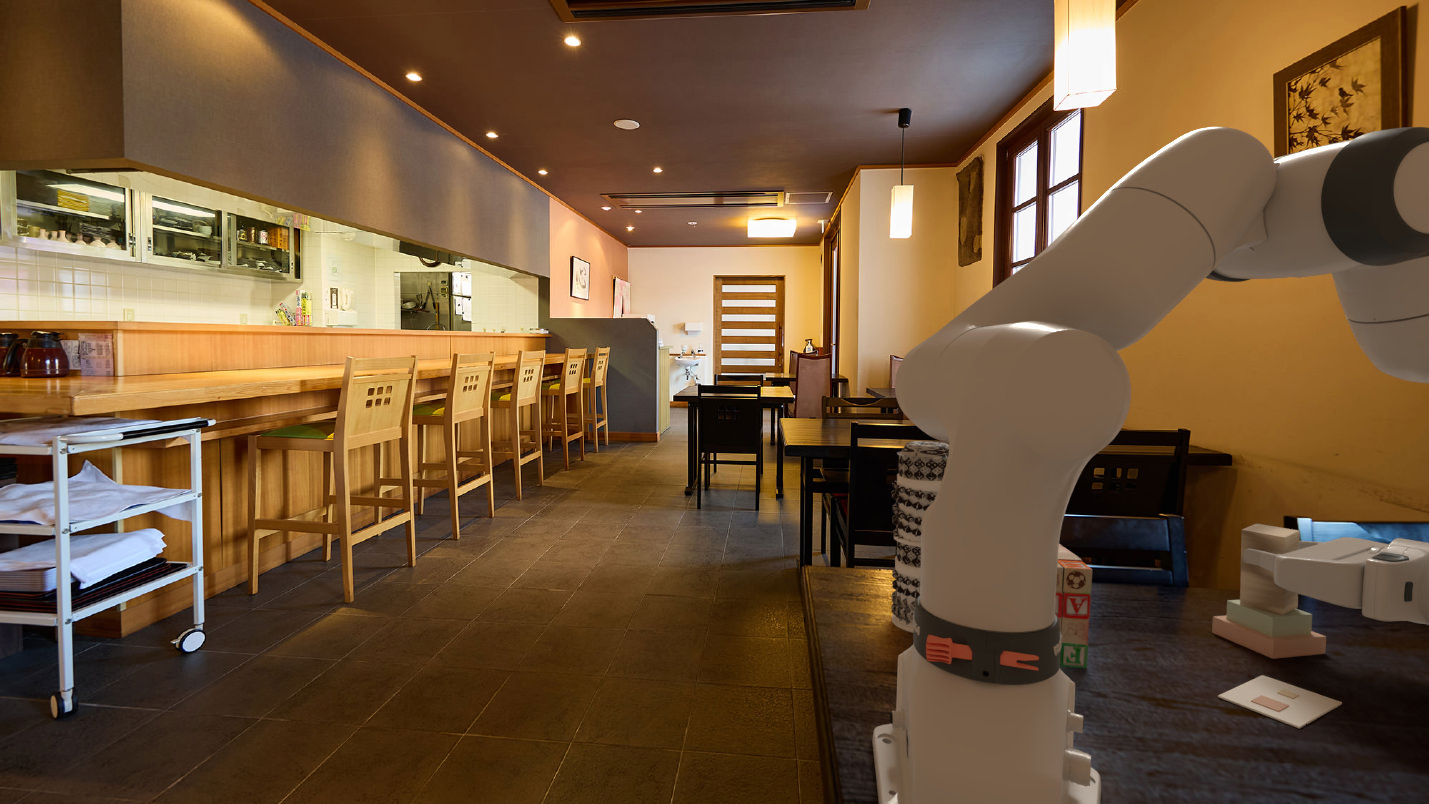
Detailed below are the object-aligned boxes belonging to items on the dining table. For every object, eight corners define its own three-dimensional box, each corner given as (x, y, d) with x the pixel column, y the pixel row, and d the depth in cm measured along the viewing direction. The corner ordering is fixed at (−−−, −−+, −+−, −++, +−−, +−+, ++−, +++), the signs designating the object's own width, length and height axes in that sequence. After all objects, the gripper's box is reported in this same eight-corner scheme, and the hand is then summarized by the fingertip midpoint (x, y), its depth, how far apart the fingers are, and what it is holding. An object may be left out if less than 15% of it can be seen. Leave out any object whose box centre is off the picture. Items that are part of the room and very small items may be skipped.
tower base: (1325, 656, 83) (1327, 616, 83) (1272, 661, 81) (1274, 621, 81) (1261, 630, 91) (1263, 594, 90) (1212, 634, 89) (1213, 598, 89)
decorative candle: (875, 615, 94) (878, 440, 93) (929, 607, 98) (933, 438, 96) (914, 640, 86) (919, 448, 84) (973, 631, 89) (978, 445, 87)
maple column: (1297, 607, 85) (1299, 530, 84) (1283, 615, 83) (1285, 537, 82) (1254, 596, 89) (1256, 523, 88) (1240, 604, 86) (1241, 529, 86)
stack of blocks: (988, 602, 100) (991, 522, 99) (1032, 605, 99) (1035, 524, 98) (1032, 666, 79) (1036, 564, 78) (1089, 670, 78) (1093, 567, 77)
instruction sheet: (1299, 728, 65) (1299, 725, 65) (1218, 697, 72) (1218, 694, 72) (1341, 704, 70) (1342, 701, 70) (1262, 676, 76) (1262, 674, 76)
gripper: (1447, 541, 79) (1301, 517, 91) (1380, 565, 69) (1225, 534, 81) (1444, 593, 79) (1298, 562, 91) (1376, 624, 69) (1223, 585, 81)
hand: (1263, 549), depth 86 cm, fingers open, 8 cm apart
